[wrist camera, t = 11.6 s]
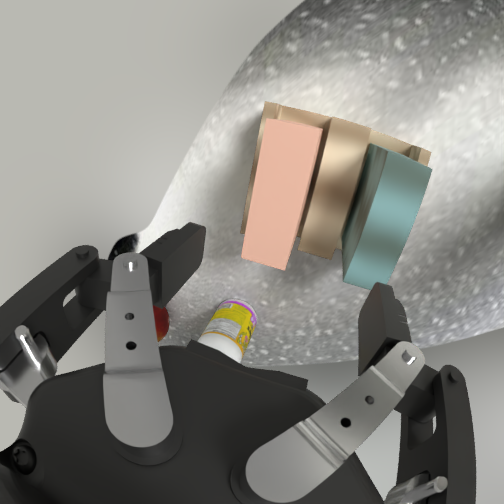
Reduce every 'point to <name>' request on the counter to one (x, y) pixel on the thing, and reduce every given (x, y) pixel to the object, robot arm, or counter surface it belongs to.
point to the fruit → (161, 322)
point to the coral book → (280, 190)
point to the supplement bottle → (230, 328)
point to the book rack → (355, 194)
